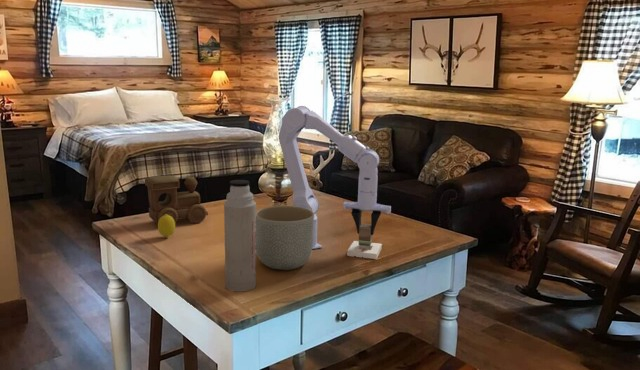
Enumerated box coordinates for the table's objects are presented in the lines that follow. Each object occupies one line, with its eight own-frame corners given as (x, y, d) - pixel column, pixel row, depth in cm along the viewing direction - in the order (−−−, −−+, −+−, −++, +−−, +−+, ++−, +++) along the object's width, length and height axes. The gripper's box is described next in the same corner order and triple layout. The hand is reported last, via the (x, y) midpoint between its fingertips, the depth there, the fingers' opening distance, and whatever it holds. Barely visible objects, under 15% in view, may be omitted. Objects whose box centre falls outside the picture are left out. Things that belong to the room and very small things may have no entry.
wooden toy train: (153, 230, 188) (151, 182, 184) (145, 221, 197) (143, 176, 194) (209, 222, 198) (208, 177, 194) (199, 214, 207) (198, 171, 204)
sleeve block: (376, 259, 166) (376, 253, 165) (347, 255, 168) (347, 250, 167) (381, 248, 175) (381, 243, 175) (353, 245, 177) (354, 240, 177)
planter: (282, 250, 172) (283, 202, 168) (324, 263, 161) (326, 213, 158) (242, 264, 159) (242, 213, 155) (285, 280, 148) (286, 225, 145)
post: (369, 246, 169) (370, 227, 167) (358, 245, 170) (359, 226, 168) (371, 242, 172) (372, 224, 171) (360, 241, 173) (361, 223, 172)
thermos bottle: (259, 281, 147) (260, 178, 141) (250, 293, 139) (249, 185, 133) (231, 278, 149) (230, 176, 142) (220, 289, 141) (218, 183, 135)
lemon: (154, 238, 179) (153, 214, 177) (166, 234, 184) (165, 211, 182) (167, 241, 177) (166, 217, 175) (179, 236, 181) (178, 213, 180)
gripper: (393, 189, 169) (390, 232, 172) (347, 185, 173) (345, 227, 176) (389, 194, 162) (387, 238, 165) (342, 190, 166) (340, 233, 169)
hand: (365, 233), depth 170 cm, fingers closed on post, 3 cm apart
